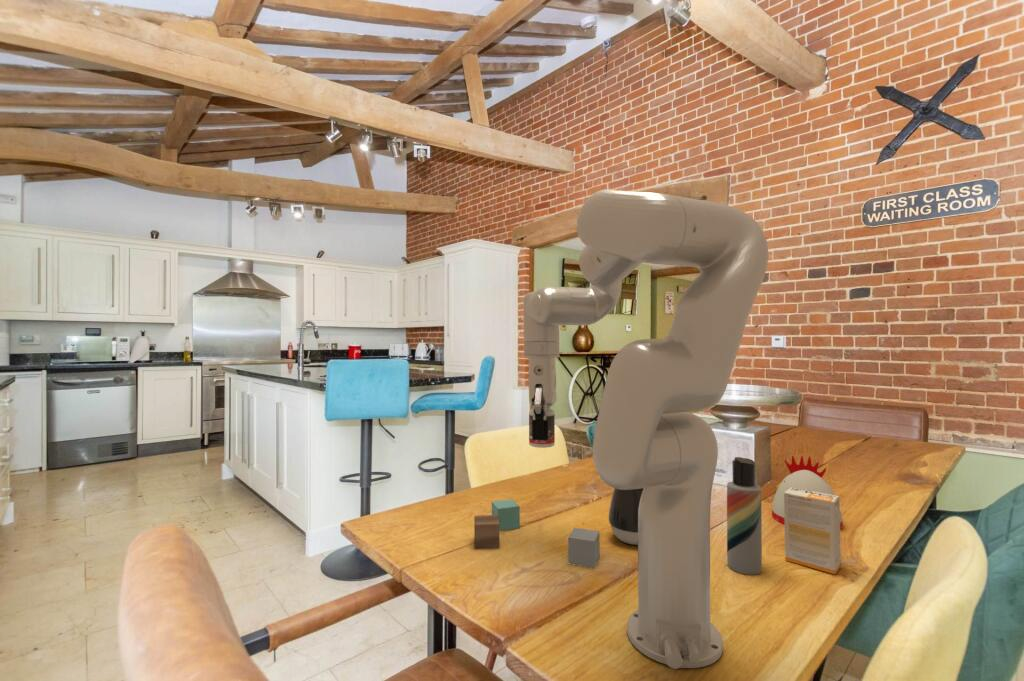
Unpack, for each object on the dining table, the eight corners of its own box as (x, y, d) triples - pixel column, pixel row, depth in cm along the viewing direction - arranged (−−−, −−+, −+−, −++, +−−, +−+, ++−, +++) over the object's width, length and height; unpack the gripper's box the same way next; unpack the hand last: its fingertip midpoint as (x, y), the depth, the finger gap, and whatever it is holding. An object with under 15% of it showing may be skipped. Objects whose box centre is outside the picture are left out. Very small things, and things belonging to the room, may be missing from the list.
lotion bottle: (731, 557, 91) (731, 453, 91) (764, 566, 87) (764, 458, 87) (723, 568, 86) (722, 459, 86) (757, 578, 83) (757, 464, 83)
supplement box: (841, 566, 87) (841, 495, 87) (835, 575, 84) (835, 501, 84) (791, 552, 93) (791, 486, 93) (783, 560, 90) (783, 491, 90)
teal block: (519, 528, 105) (519, 506, 105) (498, 531, 104) (498, 508, 104) (512, 520, 110) (512, 499, 110) (491, 523, 109) (491, 501, 109)
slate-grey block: (594, 568, 87) (594, 541, 87) (568, 564, 88) (568, 537, 89) (599, 557, 91) (599, 531, 91) (574, 553, 93) (574, 527, 93)
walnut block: (499, 548, 95) (499, 523, 95) (474, 549, 95) (474, 524, 95) (498, 538, 100) (498, 514, 100) (474, 539, 100) (474, 515, 100)
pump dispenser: (624, 553, 93) (624, 476, 93) (600, 533, 103) (600, 463, 103) (669, 547, 95) (669, 472, 95) (642, 528, 105) (642, 459, 105)
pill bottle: (534, 449, 96) (533, 400, 96) (525, 443, 101) (525, 398, 101) (558, 447, 98) (558, 399, 98) (549, 442, 103) (548, 397, 103)
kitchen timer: (773, 506, 119) (772, 447, 119) (839, 516, 112) (839, 453, 112) (770, 525, 107) (770, 458, 107) (845, 537, 100) (844, 467, 100)
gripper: (555, 351, 90) (556, 446, 90) (562, 350, 107) (562, 430, 107) (517, 351, 92) (517, 444, 92) (529, 350, 109) (530, 429, 108)
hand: (542, 435), depth 99 cm, fingers closed on pill bottle, 5 cm apart
